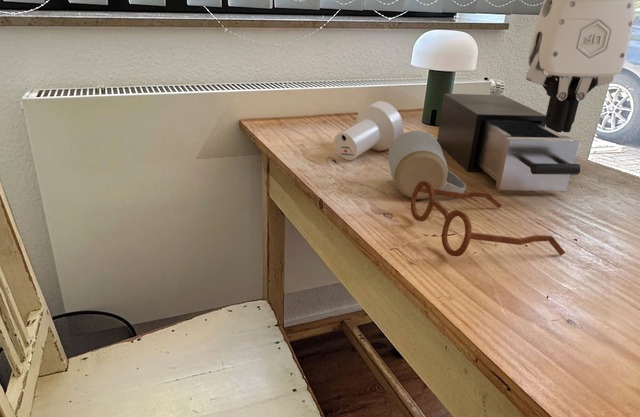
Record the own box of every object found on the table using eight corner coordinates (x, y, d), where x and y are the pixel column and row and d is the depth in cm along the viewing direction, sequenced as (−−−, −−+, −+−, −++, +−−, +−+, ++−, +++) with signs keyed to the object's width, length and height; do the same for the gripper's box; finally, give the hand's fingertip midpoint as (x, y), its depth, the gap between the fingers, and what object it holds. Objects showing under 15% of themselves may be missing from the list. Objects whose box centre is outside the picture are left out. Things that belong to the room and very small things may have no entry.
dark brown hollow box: (534, 172, 78) (547, 116, 75) (467, 171, 77) (477, 114, 73) (493, 143, 92) (503, 95, 89) (436, 142, 91) (443, 93, 87)
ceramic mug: (390, 201, 65) (397, 144, 62) (384, 178, 72) (391, 127, 69) (470, 206, 65) (482, 151, 61) (456, 184, 72) (466, 133, 69)
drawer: (585, 203, 65) (600, 150, 62) (513, 203, 64) (525, 149, 61) (518, 157, 82) (528, 114, 79) (461, 156, 81) (469, 113, 78)
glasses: (406, 213, 61) (411, 175, 59) (499, 207, 64) (506, 171, 62) (457, 267, 50) (465, 223, 48) (566, 257, 53) (578, 215, 51)
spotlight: (408, 145, 84) (401, 99, 81) (369, 172, 77) (358, 123, 74) (371, 142, 90) (362, 99, 86) (331, 168, 83) (320, 122, 79)
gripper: (549, -32, 51) (515, 137, 59) (680, -27, 53) (630, 138, 61) (516, -31, 58) (489, 121, 66) (633, -26, 60) (594, 122, 67)
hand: (557, 129), depth 63 cm, fingers closed
